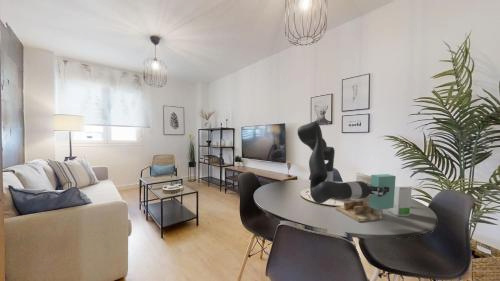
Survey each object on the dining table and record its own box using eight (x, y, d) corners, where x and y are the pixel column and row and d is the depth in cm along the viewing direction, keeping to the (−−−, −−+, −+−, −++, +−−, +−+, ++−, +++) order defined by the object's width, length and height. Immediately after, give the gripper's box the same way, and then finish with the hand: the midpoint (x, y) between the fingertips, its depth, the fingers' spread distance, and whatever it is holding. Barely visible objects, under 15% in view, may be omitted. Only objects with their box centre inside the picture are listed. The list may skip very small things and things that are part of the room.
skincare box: (397, 216, 107) (399, 187, 107) (386, 211, 114) (388, 183, 113) (410, 215, 109) (412, 186, 108) (399, 210, 116) (401, 183, 115)
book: (376, 209, 92) (378, 176, 91) (369, 206, 96) (371, 174, 95) (393, 208, 95) (395, 176, 94) (385, 204, 99) (387, 174, 98)
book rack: (358, 221, 99) (360, 181, 98) (335, 209, 115) (337, 173, 114) (381, 218, 104) (384, 179, 103) (356, 207, 119) (358, 173, 118)
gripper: (368, 186, 83) (399, 184, 88) (342, 177, 97) (371, 176, 102) (367, 204, 84) (398, 201, 89) (342, 193, 97) (370, 191, 102)
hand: (383, 188), depth 95 cm, fingers closed on book, 4 cm apart
